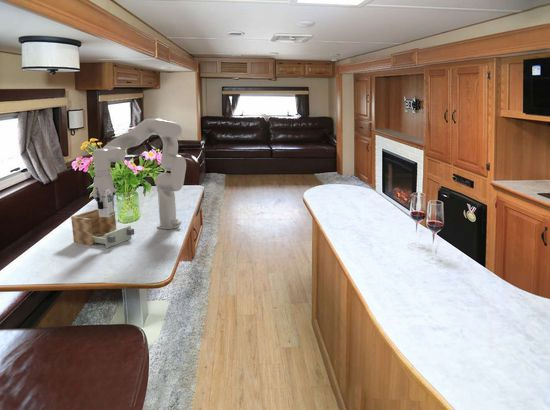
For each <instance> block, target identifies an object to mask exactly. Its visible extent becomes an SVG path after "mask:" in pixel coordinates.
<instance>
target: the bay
mask: <svg viewBox="0 0 550 410" xmlns="http://www.w3.org/2000/svg"><path fill="white" fill-rule="evenodd" d="M70 217H71V227H72V235H73V237H72V239H73V243H76V244H80V245H81V244H82V245H87V246H95V245H96V244H98V243H97V242H93V236H95V237H101V236H104V234H107V233H110V229H114V230H117V221H116V211H115V210H114V215H112V216H110V217H99V211H98V208H95V209H93V210H90V211H85V212H83V213H80V214H76V215H71V216H70Z"/></svg>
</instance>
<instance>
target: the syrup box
mask: <svg viewBox="0 0 550 410" xmlns="http://www.w3.org/2000/svg"><path fill="white" fill-rule="evenodd" d="M97 194H98V193H97ZM99 199H100V197H99ZM102 201H103V209H98V208H97V209H98V211H99V217H110V216H112V215H114V211H115V207H114V206H115V204H114V205H113V201H114V198H113V196H112V193H111V191H110V189H106V190H104V196H103V198H102Z"/></svg>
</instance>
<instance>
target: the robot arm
mask: <svg viewBox="0 0 550 410" xmlns="http://www.w3.org/2000/svg"><path fill="white" fill-rule="evenodd" d="M182 133H183V129H182V127H181V125H180V124H179V123H178V122H174V121H169V120H163V119H161V118H145V119H143V120H142V121H141V122H139V123H137V125H136V126H134V127H133V128H132V129H130V130H129V131H128V132H126V133H123V134H122V135H119V136H117V137H115V138H113V139H112V140H110V141H109V142H108V143H107V144H105V145H104V146H103V147H102V148H96V149H94V150H93V151H92V158H93V166H94V175H95V176H93V187H92V188H93V192H92V195H91V196H92V197H93V199H94V201H96V203H97V209H103V201H102V198H103V196H104V190H106V189H110V191H111V193H112V196H113V199H114V198H115V195H116V193H117V190H118V189H117V188H115V186H114V180H113V176H112V173H111V172H112V169H111V164H110V163H120V162H123V160H125V158H126V152H125V150H126V149H129V148H133V147H138V146H140V145H141V144H142V143H143V142H145V141H146V140H147V139H148V138H150V137H151V136H152V135H154V136H155V135H156V136H159V138H160V139H161V142H162V152H161V157H160V167H161V168H162V170H165V171H168V172H169V171H170V172H169V173H168V172H160V173H158V174H157V175H156V177H155V179H154V180H155V181H154V183H155V186H156V187H155V188H156V191H157V198H158V199H157V200H158V213H159V214H158V216H159V223H158V224H157V226H156V227H157V228H158V229H160V230H172V229H177V228H179V227H180V226H181V224H182V221H179V218H177V207H176V206H177V205H176V195H175V192H178V191H181V190H182V188H183V187H184V183H185V178H186V177H185V176H186V171H187V161H186V159H185V157H184V156H182V155H179V153H178V152H179V143H178V140H177V138H180V136H181V135H182ZM97 193H98V194H97ZM99 197H100V199H99ZM113 205H114V206H115V202H114V200H113Z"/></svg>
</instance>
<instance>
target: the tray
mask: <svg viewBox="0 0 550 410" xmlns="http://www.w3.org/2000/svg"><path fill="white" fill-rule="evenodd" d="M134 235H135V228H132V227H131V225H127V226H124V227H122V228H119V229H116V230H114V229H110V233H107V234H104V236H101V237H95V236H93V242H97V243H96V244H103V245H105V248H106V249H108V248H110V247H113V246H115V245H118V244H120V243H123V242H126V241H128V240H131V239H132V238H133V237H132V236H134Z"/></svg>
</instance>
